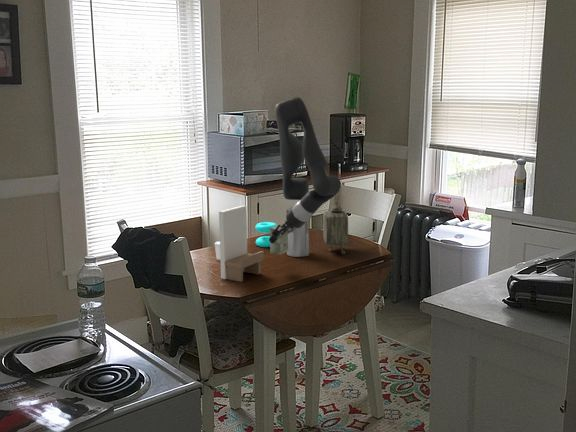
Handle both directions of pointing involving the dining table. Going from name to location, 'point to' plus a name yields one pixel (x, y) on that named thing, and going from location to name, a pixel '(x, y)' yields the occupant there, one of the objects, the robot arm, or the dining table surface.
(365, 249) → the dining table surface
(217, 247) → the shot glass
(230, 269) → the white display stand
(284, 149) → the robot arm
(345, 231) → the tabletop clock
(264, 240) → the donuts
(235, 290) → the dining table surface
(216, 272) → the dining table surface
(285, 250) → the sage cabinet
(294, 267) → the dining table surface
